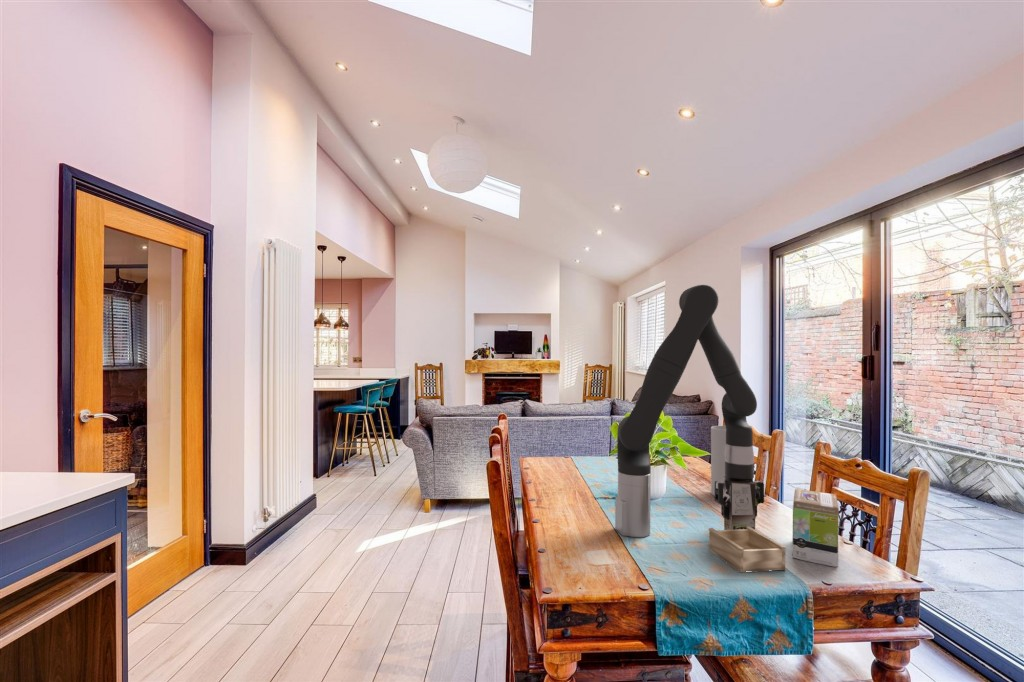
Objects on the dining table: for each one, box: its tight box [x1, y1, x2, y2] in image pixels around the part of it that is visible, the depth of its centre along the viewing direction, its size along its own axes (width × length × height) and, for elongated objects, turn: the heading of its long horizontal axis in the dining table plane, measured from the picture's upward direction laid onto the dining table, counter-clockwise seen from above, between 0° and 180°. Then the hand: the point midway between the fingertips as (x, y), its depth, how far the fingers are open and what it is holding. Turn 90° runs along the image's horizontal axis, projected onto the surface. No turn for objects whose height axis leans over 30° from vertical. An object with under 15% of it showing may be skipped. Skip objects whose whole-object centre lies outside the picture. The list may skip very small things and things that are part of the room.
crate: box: [708, 527, 787, 573], centre depth 121 cm, size 12×14×6 cm
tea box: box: [791, 488, 840, 568], centre depth 125 cm, size 15×10×15 cm, turn 148°
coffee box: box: [723, 476, 756, 530], centre depth 137 cm, size 9×6×16 cm
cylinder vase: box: [710, 425, 726, 497], centre depth 176 cm, size 12×12×25 cm
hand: (739, 518), depth 137 cm, fingers closed on coffee box, 7 cm apart
